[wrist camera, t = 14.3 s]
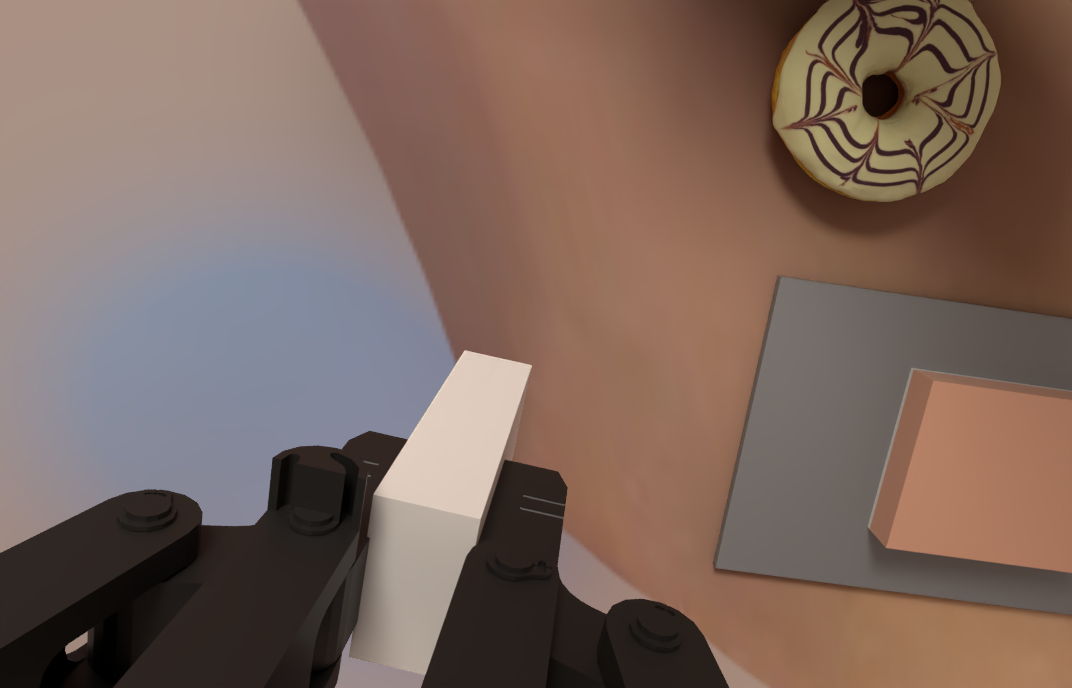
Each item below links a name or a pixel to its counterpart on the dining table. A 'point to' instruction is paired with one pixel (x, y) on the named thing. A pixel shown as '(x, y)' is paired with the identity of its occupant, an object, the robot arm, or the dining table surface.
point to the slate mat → (869, 436)
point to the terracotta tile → (979, 472)
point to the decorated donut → (923, 87)
